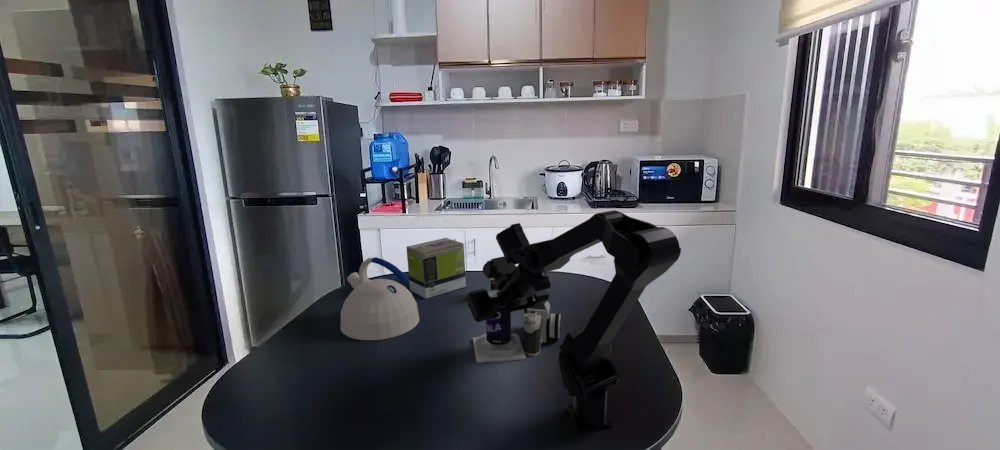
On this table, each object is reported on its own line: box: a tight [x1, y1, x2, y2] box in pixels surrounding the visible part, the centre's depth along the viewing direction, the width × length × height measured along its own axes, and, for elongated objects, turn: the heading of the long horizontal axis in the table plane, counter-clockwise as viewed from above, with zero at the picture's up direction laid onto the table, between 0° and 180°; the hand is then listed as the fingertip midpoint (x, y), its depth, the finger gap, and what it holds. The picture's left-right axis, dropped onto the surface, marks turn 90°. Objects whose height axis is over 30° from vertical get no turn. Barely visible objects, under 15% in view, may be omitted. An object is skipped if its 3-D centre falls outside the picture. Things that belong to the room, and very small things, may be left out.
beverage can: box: [485, 289, 512, 347], centre depth 105 cm, size 6×6×12 cm
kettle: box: [340, 256, 420, 341], centre depth 119 cm, size 20×21×18 cm
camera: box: [523, 297, 562, 357], centre depth 109 cm, size 16×9×10 cm, turn 170°
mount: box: [472, 332, 527, 364], centre depth 106 cm, size 11×11×2 cm
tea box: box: [406, 237, 467, 300], centre depth 143 cm, size 15×10×15 cm
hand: (495, 313), depth 105 cm, fingers closed on beverage can, 6 cm apart
